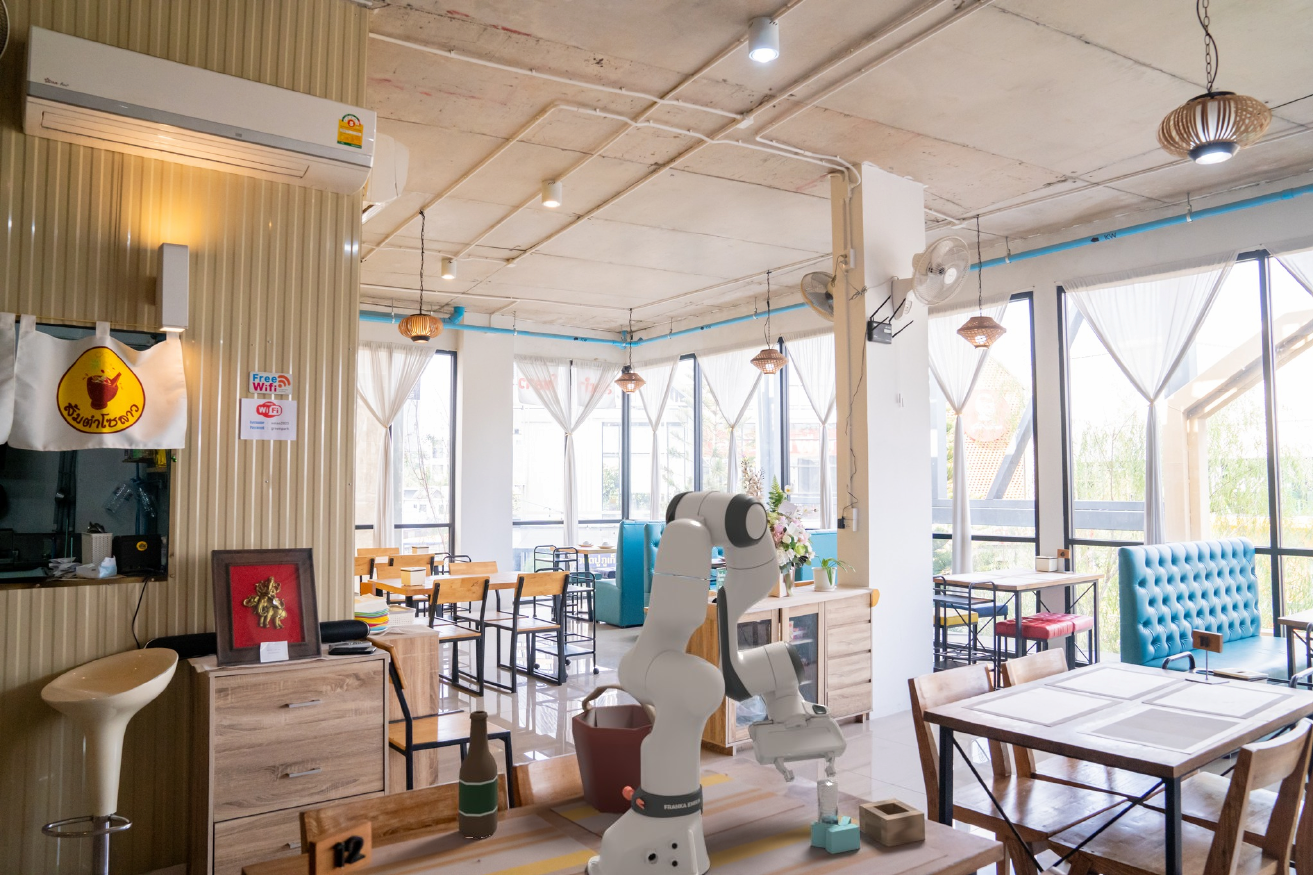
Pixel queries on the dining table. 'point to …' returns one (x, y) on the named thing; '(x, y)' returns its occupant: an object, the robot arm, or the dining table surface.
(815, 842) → the teal V-block
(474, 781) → the beer bottle
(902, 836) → the walnut block
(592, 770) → the bucket
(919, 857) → the dining table surface
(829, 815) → the steel axle
